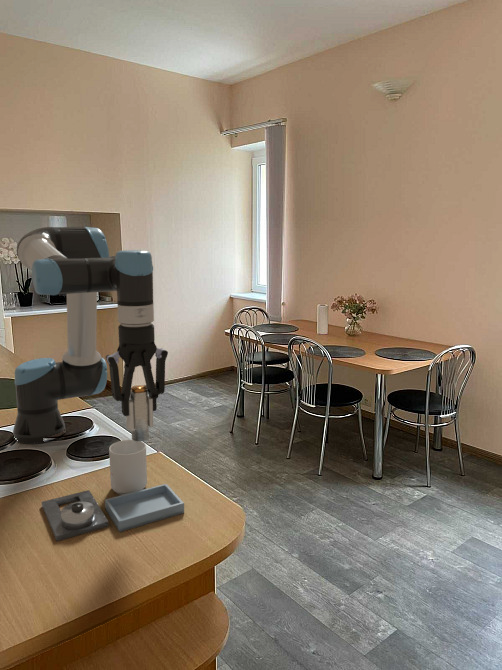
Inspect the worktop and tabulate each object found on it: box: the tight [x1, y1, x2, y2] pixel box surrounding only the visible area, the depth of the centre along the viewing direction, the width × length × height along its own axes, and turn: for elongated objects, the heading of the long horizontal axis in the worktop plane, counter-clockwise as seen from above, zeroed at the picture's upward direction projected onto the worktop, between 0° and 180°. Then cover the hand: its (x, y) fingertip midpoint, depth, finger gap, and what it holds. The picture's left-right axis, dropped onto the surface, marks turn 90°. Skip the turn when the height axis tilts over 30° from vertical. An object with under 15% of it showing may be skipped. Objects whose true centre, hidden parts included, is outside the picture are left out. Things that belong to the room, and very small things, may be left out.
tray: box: [104, 483, 185, 533], centre depth 122 cm, size 15×11×2 cm
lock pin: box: [130, 385, 150, 442], centre depth 117 cm, size 4×4×12 cm
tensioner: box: [41, 489, 110, 542], centre depth 120 cm, size 16×11×5 cm
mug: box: [108, 439, 148, 496], centre depth 133 cm, size 12×9×11 cm
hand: (140, 426), depth 118 cm, fingers closed on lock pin, 4 cm apart
